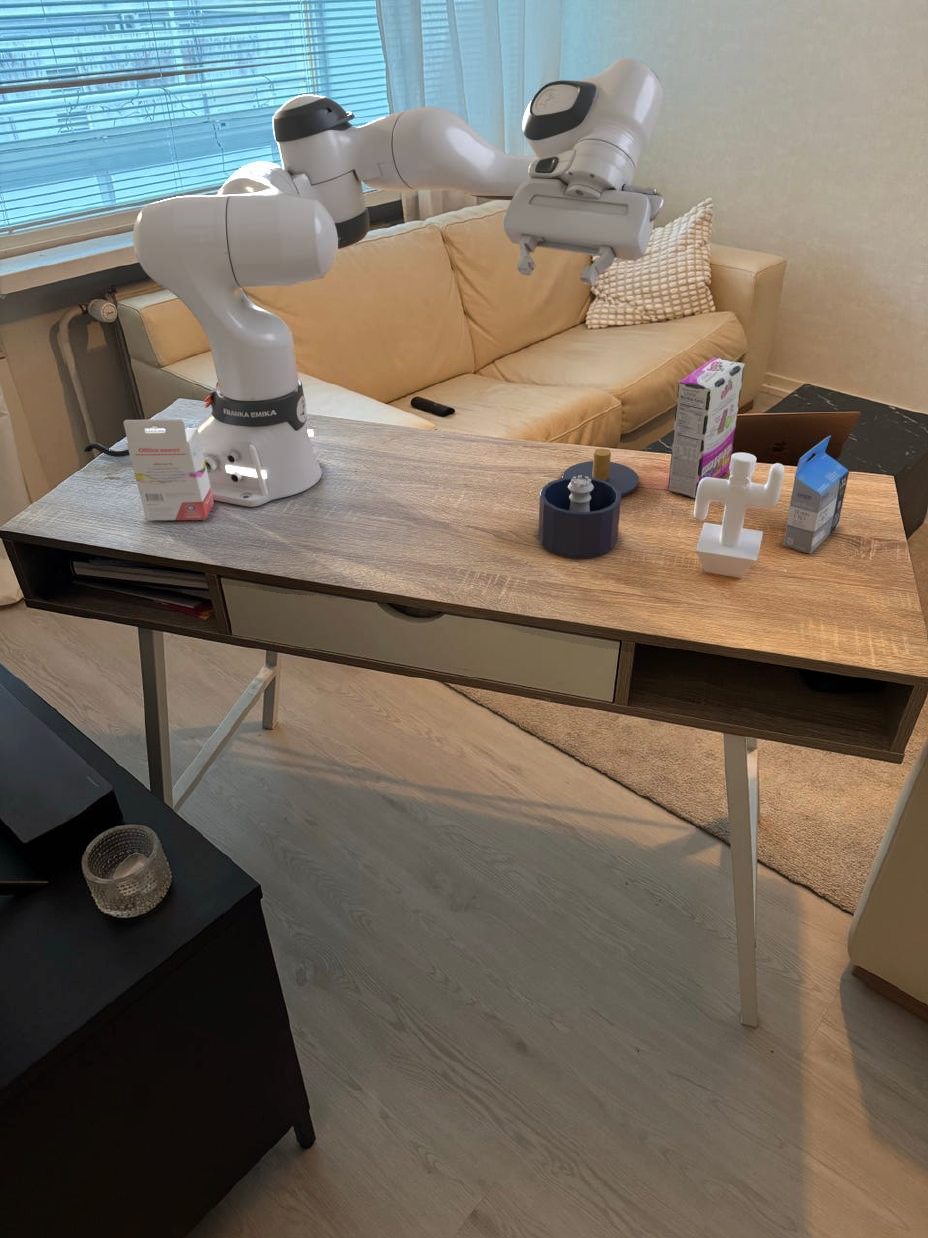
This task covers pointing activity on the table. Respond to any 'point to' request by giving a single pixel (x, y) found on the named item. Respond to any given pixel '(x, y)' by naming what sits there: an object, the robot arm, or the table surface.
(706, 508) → the figurine
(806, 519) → the label tape box
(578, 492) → the rook chess piece
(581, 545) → the tin
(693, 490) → the candy bar box
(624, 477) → the tin lid
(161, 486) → the ink cartridge box
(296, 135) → the robot arm
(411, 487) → the table surface
